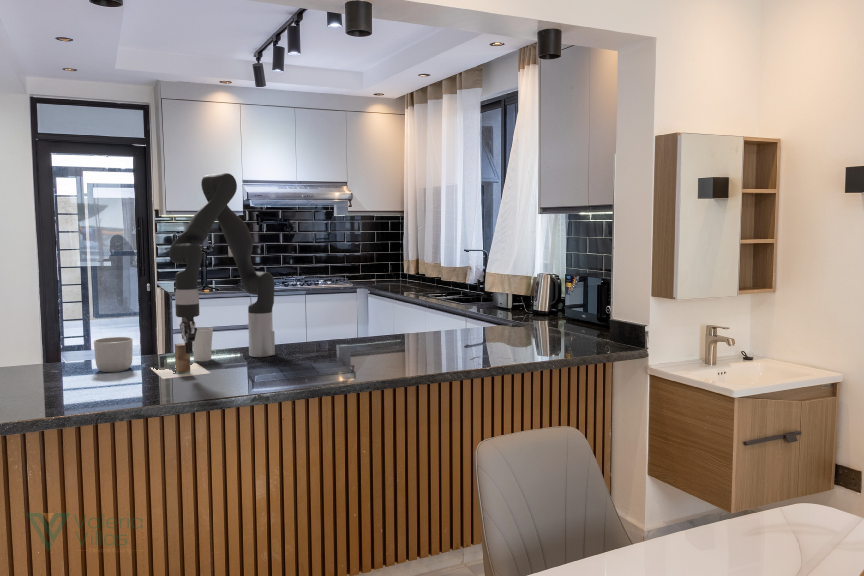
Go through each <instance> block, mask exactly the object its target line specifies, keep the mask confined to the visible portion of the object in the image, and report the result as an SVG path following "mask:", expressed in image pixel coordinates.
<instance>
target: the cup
mask: <svg viewBox="0 0 864 576" xmlns="http://www.w3.org/2000/svg"><path fill="white" fill-rule="evenodd" d="M196 328H197V332H196V337H195V341H193V342H192V343H193V361H195V362H208V361H211V360H212V346H213V343H212V342H213V332H214V331H213V330H214V329H213V327H205V326H204V327H196Z"/></svg>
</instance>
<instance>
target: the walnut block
mask: <svg viewBox="0 0 864 576" xmlns="http://www.w3.org/2000/svg"><path fill="white" fill-rule="evenodd" d="M174 360H175V361H174V362H175V364H174V365H175V368H176V373H177V374H186V373H190V363H191V353H190V354H187V353H185V342H182V343H181V342H179V343H174Z"/></svg>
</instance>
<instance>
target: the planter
mask: <svg viewBox="0 0 864 576" xmlns="http://www.w3.org/2000/svg"><path fill="white" fill-rule="evenodd" d="M93 347H94V348H93V349H94V358H95V359H94V360H95V365H96V369H97V370H98V371H100V372H103V373H119V372H123V371H127V370H129V369H130V368H131V367H132V364H133V350H134V349H133V338H132V337H129V336H113V337H112V336H111V337H103V338H97V339H95V340H94V341H93Z"/></svg>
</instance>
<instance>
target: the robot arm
mask: <svg viewBox="0 0 864 576" xmlns="http://www.w3.org/2000/svg"><path fill="white" fill-rule="evenodd" d="M200 183H201V190H202V193H203V196H204V197H205V200H206V201H207V203H206V204H205V205H204V206H203V207H200V209H199V210H198V211H197V212H196V213H195V214H194V215H193V216H192V218H191V219H190V220H189V223H188V225H187V227H186V229H185V230H184V231H183V232H182V233H181V234H180V235H179V236H178V237H177V238H175V240H174V241H173V242H172V243H171V245H170V247H169V251H168V256H169V259H170V261H171V262H172V263H174V264H181V265H186V266H185V269H184V270H180V271H178V272H176V273H175V281H174V282H175V292H174V294H175V295H174V298H175V299H174V300H175V304H174V305H175V316H176V318H181V321H180V323H179V328H180V334H181V339H182V340H183V343H185V353H187V354H190V355H191V354H192V353H193V343H192V342H193V341H195V337H196V332H197V328H198V327H196V322H195V317H196V318H197V317H199V316H200V293H199V289H198V288H199V282H198V281H199V279H198V277H199V273H200V269H201V264H202V261H203V250H202V248H201V246H200V245H201V244H203V243H204V242H205V241H206V238H207V236H208V234H209V232H210V231H211V229H212V227H213V224H214V223H216V221H217V222H218V224H219V226H220V228H221V231H222V233H223V236H224V238H225V240H226V243H227V246H228V248H229V250H230V252H231V255H232V257H233V259H234V262H235V264H236V267H237V268H236V269H237V271H238V274H239V277H240V280H241V285H242V287H243V288H244V291H245V292H246V293H247V294H249V295H255V296H257V299H256V301H255V302H254V303H250V304H249V305H248V306H247V312H248V313H247V317H248V320H247V321H248V323H247V325H248V356H250V357H253V358H262V357H263V358H264V357H270V356H275V354H276V352H275V351H276V349H275V346H276V345H275V344H276V343H275V330H274V329H273V307H274V305H275V304H274V303H275V279H274V276H273V275H272V274H271V272H268V271H256V270H255V267H254V265H253V262H252V259H251V258H252V253H253V249H254V248H253V247H254V240H253V237H252V234H251V231H250V229H249V227H248V225H247V224H246V222H245V221H244V220H243V219H242V218H241V217H240V216H239V215H238V214H236V212H234V211H233V210H232V209H231V208H230V207H229V205H228V204H229V203H230V202H231V200H232V199H233V198H234V196H235V195H236V192H237V189H238V185H237V184H238V183H237V181H236V178H235V176H234V175H232V173H229V172H228V173H227V172H222V173H221V172H220V173H212V174H211V173H210V174H206V175H204V176H203V177H202V179H201V182H200ZM193 354H194V353H193Z"/></svg>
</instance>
